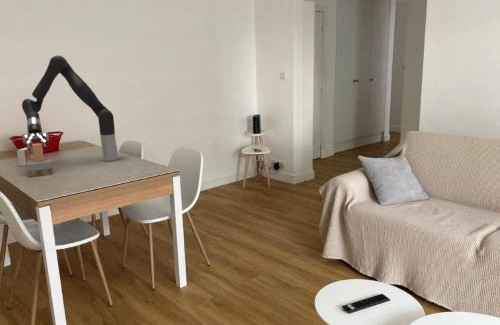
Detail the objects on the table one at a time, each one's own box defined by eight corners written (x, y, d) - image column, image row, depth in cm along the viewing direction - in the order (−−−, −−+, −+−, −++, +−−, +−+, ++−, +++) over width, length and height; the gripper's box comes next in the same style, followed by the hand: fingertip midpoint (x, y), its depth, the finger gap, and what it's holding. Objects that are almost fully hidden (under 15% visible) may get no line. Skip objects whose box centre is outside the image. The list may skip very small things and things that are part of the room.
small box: (26, 166, 271) (23, 150, 269) (18, 165, 272) (16, 149, 270) (35, 163, 279) (32, 147, 277) (27, 163, 280) (25, 147, 278)
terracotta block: (43, 159, 252) (41, 143, 250) (44, 161, 248) (41, 144, 246) (34, 160, 250) (32, 144, 248) (34, 162, 246) (32, 145, 243)
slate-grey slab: (50, 164, 257) (49, 158, 256) (51, 168, 247) (50, 161, 246) (28, 167, 252) (27, 160, 251) (28, 171, 242) (27, 164, 241)
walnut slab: (51, 170, 258) (50, 164, 257) (52, 175, 248) (51, 168, 247) (29, 173, 253) (28, 167, 252) (29, 178, 243) (28, 171, 242)
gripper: (20, 124, 248) (22, 146, 240) (46, 121, 254) (50, 143, 246) (21, 131, 254) (24, 154, 246) (47, 129, 260) (51, 151, 252)
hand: (37, 148), depth 246 cm, fingers open, 7 cm apart
